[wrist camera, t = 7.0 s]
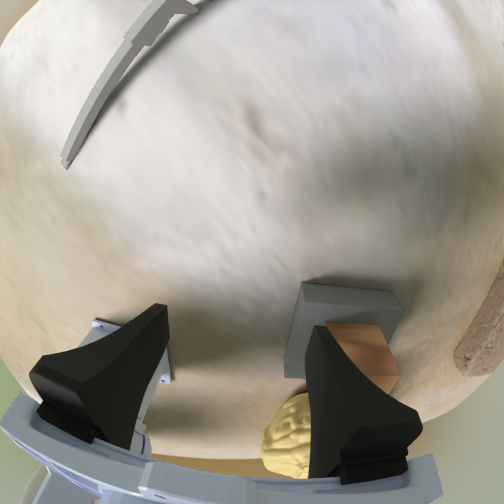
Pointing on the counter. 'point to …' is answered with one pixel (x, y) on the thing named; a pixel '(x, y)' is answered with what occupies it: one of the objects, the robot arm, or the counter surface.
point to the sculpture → (289, 439)
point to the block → (367, 352)
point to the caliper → (122, 66)
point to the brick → (484, 335)
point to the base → (336, 317)
